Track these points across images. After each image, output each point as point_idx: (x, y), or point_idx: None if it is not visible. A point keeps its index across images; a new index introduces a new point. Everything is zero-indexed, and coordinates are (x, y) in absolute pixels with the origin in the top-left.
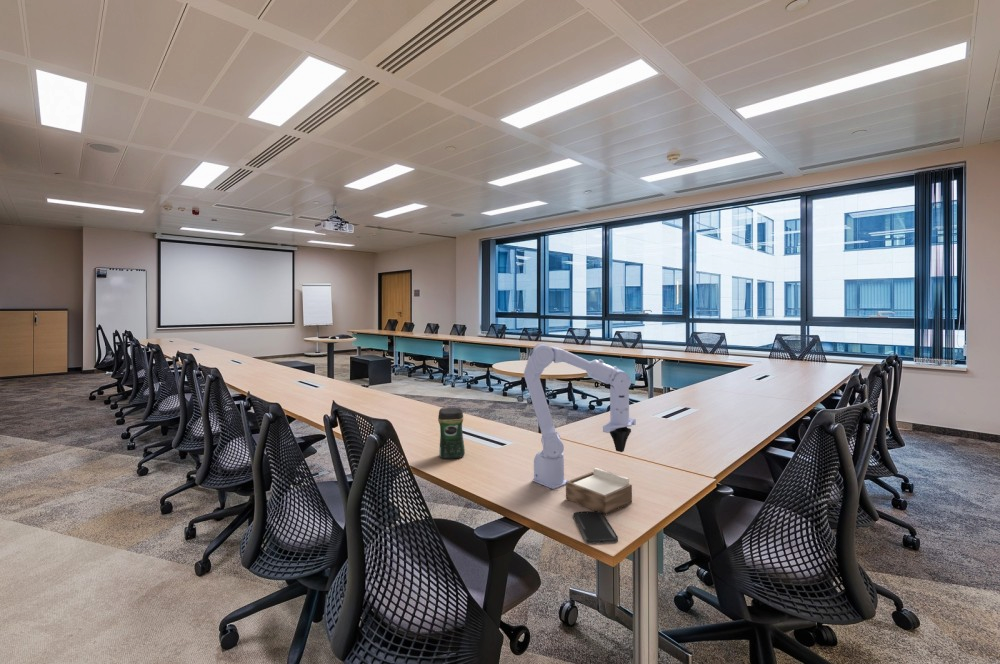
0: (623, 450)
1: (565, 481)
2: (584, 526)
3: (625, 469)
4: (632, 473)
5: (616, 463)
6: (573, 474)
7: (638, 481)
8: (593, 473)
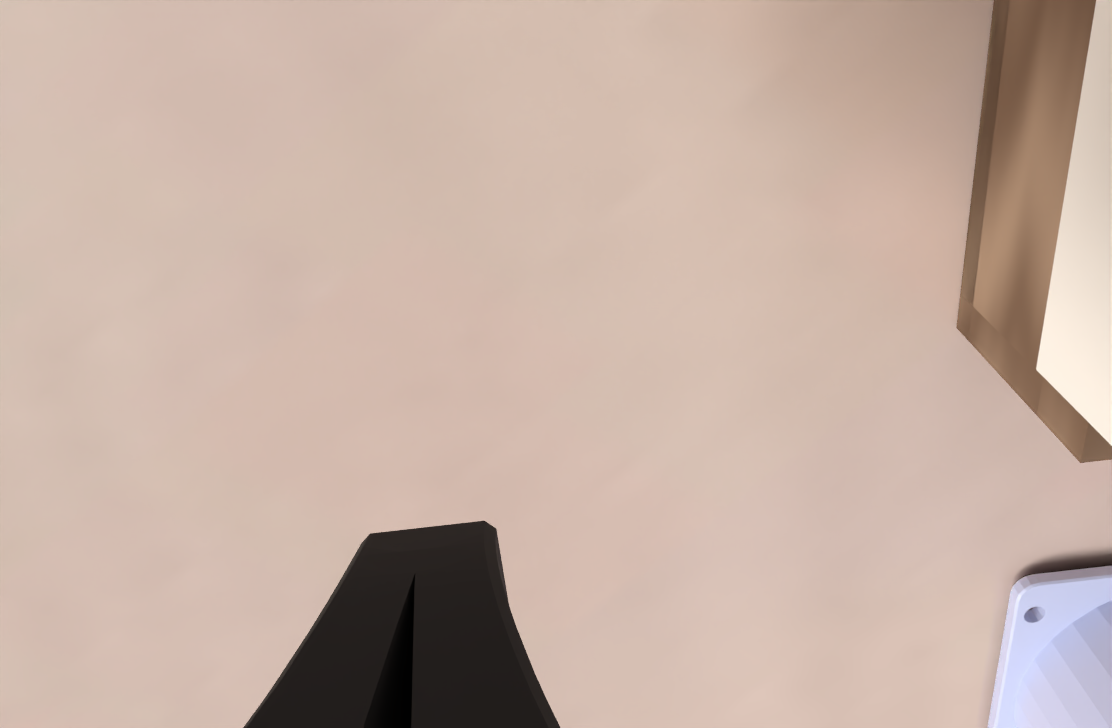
0: (392, 545)
1: (1071, 608)
2: None
3: (30, 525)
4: (34, 375)
5: (3, 712)
6: (754, 717)
7: (180, 96)
8: None
